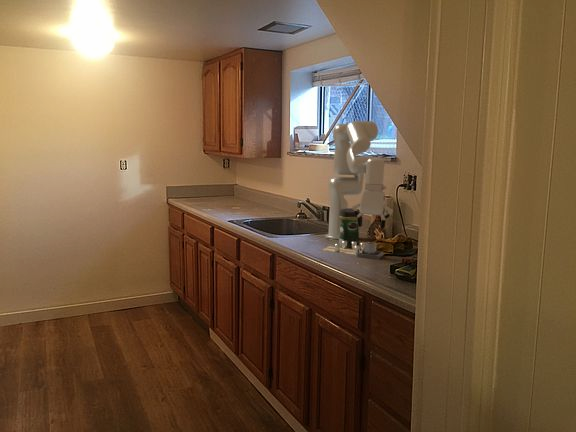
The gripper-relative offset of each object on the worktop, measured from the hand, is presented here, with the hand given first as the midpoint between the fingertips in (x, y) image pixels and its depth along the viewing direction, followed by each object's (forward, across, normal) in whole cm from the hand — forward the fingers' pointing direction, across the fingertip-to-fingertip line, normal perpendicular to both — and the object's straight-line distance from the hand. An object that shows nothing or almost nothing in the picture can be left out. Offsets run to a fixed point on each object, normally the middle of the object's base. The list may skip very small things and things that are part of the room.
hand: (371, 227), depth 225 cm
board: (+13, +13, -5) cm, 20 cm away
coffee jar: (+14, +14, -16) cm, 26 cm away
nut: (+12, -1, +2) cm, 13 cm away
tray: (+13, -1, +1) cm, 13 cm away
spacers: (+13, +10, -5) cm, 17 cm away
